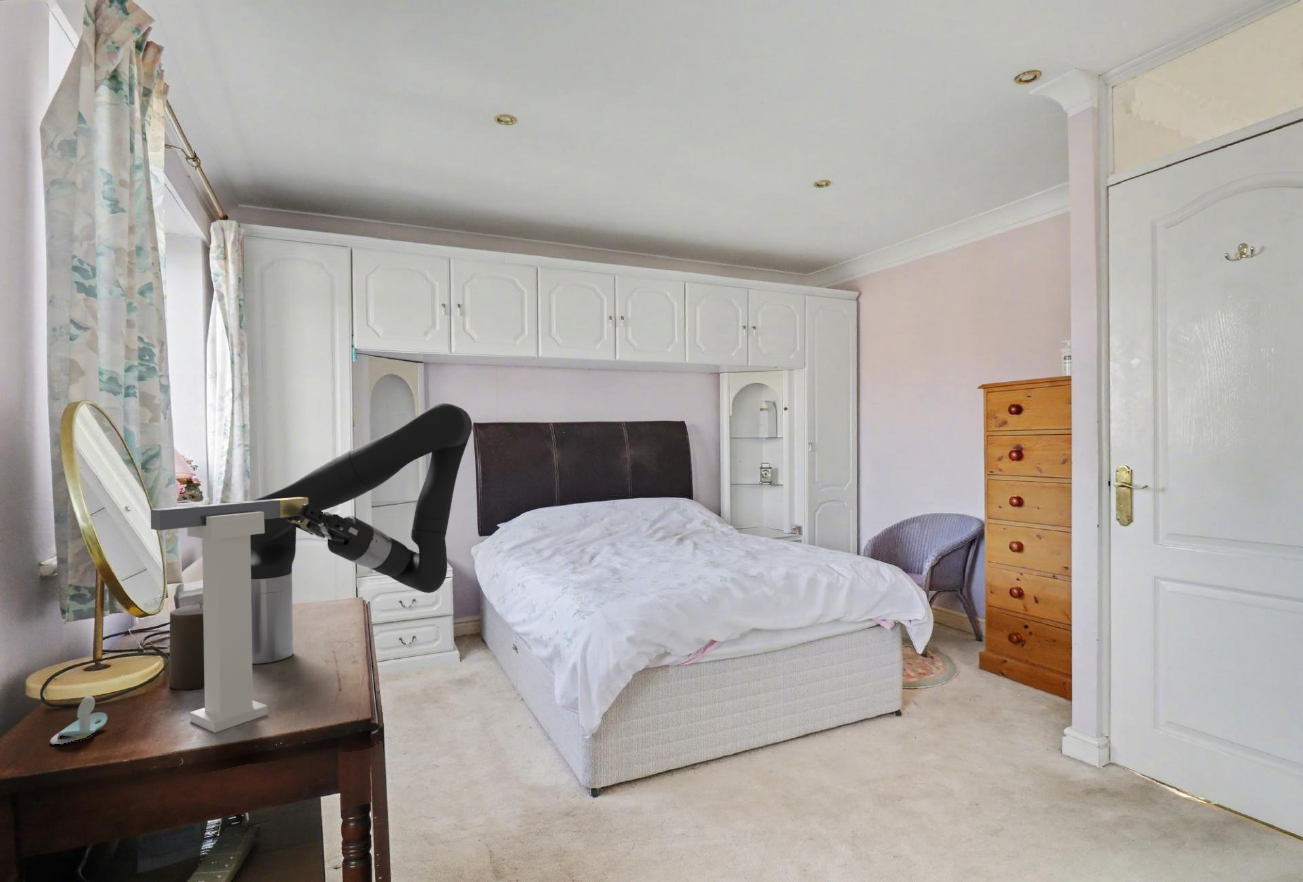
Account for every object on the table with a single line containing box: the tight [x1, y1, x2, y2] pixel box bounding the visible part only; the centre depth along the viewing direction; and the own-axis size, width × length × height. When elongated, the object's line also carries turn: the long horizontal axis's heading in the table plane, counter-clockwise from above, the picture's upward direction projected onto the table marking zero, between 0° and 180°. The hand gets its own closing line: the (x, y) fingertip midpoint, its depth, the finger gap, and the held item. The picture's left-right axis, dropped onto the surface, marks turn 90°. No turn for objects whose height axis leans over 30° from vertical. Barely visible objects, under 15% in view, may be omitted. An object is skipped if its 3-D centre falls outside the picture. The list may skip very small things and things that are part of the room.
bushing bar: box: [150, 497, 308, 531], centre depth 112 cm, size 3×23×3 cm, turn 147°
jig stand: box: [186, 511, 268, 733], centre depth 111 cm, size 8×8×34 cm
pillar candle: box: [168, 601, 205, 691], centre depth 128 cm, size 10×10×15 cm
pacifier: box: [49, 694, 108, 745], centre depth 104 cm, size 7×6×6 cm
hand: (288, 507), depth 119 cm, fingers open, 8 cm apart
